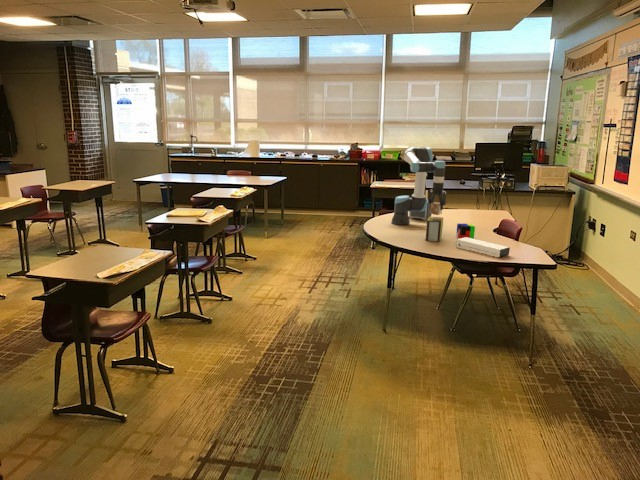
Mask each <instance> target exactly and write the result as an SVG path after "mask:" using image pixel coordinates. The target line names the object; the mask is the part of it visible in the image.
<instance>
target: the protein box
mask: <svg viewBox="0 0 640 480" xmlns="http://www.w3.org/2000/svg"><path fill="white" fill-rule="evenodd" d="M443 227H444V217H440V216H439V217H438V216H431V217H429V218H428V220H427V221H426V227H425V228H426V232H425V241H426V242H437V243H440V242H441V240H442V237H443V230H444V229H443Z"/></svg>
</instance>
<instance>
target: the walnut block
mask: <svg viewBox="0 0 640 480" xmlns="http://www.w3.org/2000/svg"><path fill="white" fill-rule="evenodd" d="M439 206H440V202H437V201H434V202H433V203H431V211H430V214H431V215H436V216H440V215H442V214H443V211H442V212H441V214H439Z"/></svg>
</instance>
